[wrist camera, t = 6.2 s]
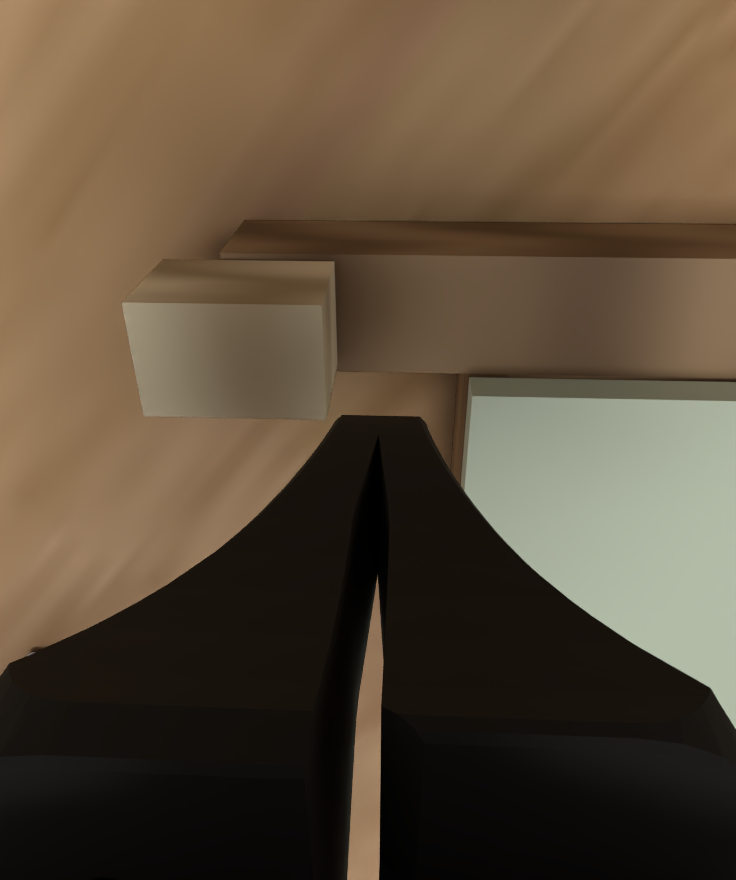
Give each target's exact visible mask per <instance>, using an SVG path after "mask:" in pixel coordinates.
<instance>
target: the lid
mask: <svg viewBox="0 0 736 880" xmlns="http://www.w3.org/2000/svg"><path fill="white" fill-rule="evenodd" d="M461 487H462V489H463V490H464V492H465V493H466V494H467V496H468V497H469V498H470V500H471V501H472V502H473V504H474V505H475V506H476V508H477V509H478V510H479V511H480V513H481V514H482V515H483V516H484V518H485V519H486V520H487V521H488V523H489V524H490V525H491V526H492V527H493V528H494V529H495V531H496V532H497V533H498V534H499V535H500V536H501V537H502V538H503V540H504V541H505V542H506V543H507V544H508V545H509V546H510V547H511V548H512V549H513V550H514V551H515V552H516V553H517V554H518V555H519V556H520V557H521V558H522V559H523V560H524V561H525V562H526V563H527V564H528V565H529V566H530V567H531V568H532V569H534V570H535V571H536V572H537V573H538V574H539V575H540V576H542V577H543V578H544V579H545V580H547V581H548V582H549V583H550V584H551V585H553V586H554V587H555V588H556V589H558V590H559V591H560V592H561V593H562V594H564V595H565V596H566V597H567V598H569V599H570V600H571V601H572V602H574V603H575V604H576V605H578V606H579V607H580V608H582V609H583V610H585V611H586V612H587V613H589V614H590V615H591V616H593V617H594V618H596V619H597V620H599V621H600V622H602V623H603V624H605V625H606V626H608V627H609V628H611V629H612V630H614V631H615V632H616V633H618V634H619V635H621V636H622V637H624V638H625V639H627V640H628V641H630V642H632V643H633V644H635V645H636V646H638V647H640V648H641V649H643V650H645V651H647V652H648V653H650V654H652V655H654V656H656V657H657V658H659V659H661V660H663V661H664V662H666V663H668V664H670V665H671V666H673V667H675V668H677V669H678V670H680V671H682V672H684V673H685V674H687V675H689V676H691V677H692V678H694V679H696V680H698V681H699V682H701V683H703V684H705V685H706V686H708V687H710V688H711V689H712V691H713V693H714V694H715V696H716V698H717V700H718V701H719V703H720V705H721V706H722V708H723V709H724V711H725V713H726V714H727V716H728V717H729V719H730V721H731V722H732V724H733V725H734V727H735V729H736V382H699V381H645V380H591V379H536V378H482V377H469V386H468V399H467V411H466V424H465V436H464V449H463V461H462V474H461Z"/></svg>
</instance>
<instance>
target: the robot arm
mask: <svg viewBox="0 0 736 880" xmlns="http://www.w3.org/2000/svg"><path fill="white" fill-rule="evenodd" d="M377 575H378V584H379V599H380V614H381V629H382V644H383V659H384V666H383V686H382V704H381V794H380V869H379V880H736V729H735V727H734V725H733V724H732V722H731V721H730V719H729V717H728V716H727V714H726V713H725V711H724V709H723V708H722V706H721V705H720V703H719V701H718V700H717V698H716V696H715V694H714V693H713V691H712V689H711V688H710V687H708V686H706V685H705V684H703V683H701V682H699V681H698V680H696V679H694V678H692V677H691V676H689V675H687V674H685V673H684V672H682V671H680V670H678V669H677V668H675V667H673V666H671V665H670V664H668V663H666V662H664V661H663V660H661V659H659V658H657V657H656V656H654V655H652V654H650V653H648V652H647V651H645V650H643V649H641V648H640V647H638V646H636V645H635V644H633V643H632V642H630V641H628V640H627V639H625V638H624V637H622V636H621V635H619V634H618V633H616V632H615V631H614V630H612V629H611V628H609V627H608V626H606V625H605V624H603V623H602V622H600V621H599V620H597V619H596V618H594V617H593V616H591V615H590V614H589V613H587V612H586V611H585V610H583V609H582V608H580V607H579V606H578V605H576V604H575V603H574V602H572V601H571V600H570V599H569V598H567V597H566V596H565V595H564V594H562V593H561V592H560V591H559V590H558V589H556V588H555V587H554V586H553V585H551V584H550V583H549V582H548V581H547V580H545V579H544V578H543V577H542V576H540V575H539V574H538V573H537V572H536V571H535V570H534V569H532V568H531V567H530V566H529V565H528V564H527V563H526V562H525V561H524V560H523V559H522V558H521V557H520V556H519V555H518V554H517V553H516V552H515V551H514V550H513V549H512V548H511V547H510V546H509V545H508V544H507V543H506V542H505V541H504V540H503V538H502V537H501V536H500V535H499V534H498V533H497V532H496V531H495V529H494V528H493V527H492V526H491V525H490V524H489V523H488V521H487V520H486V519H485V518H484V516H483V515H482V514H481V513H480V511H479V510H478V509H477V508H476V506H475V505H474V504H473V502H472V501H471V500H470V498H469V497H468V496H467V494H466V493H465V492H464V490H463V489H462V487H461V486H460V484H459V483H458V481H457V480H456V478H455V477H454V475H453V474H452V472H451V471H450V469H449V468H448V466H447V464H446V463H445V461H444V459H443V458H442V456H441V454H440V452H439V450H438V449H437V447H436V445H435V443H434V441H433V439H432V437H431V435H430V432H429V430H428V427H427V424H426V423H425V422H424V421H423V420H422V419H421V418H420V417H412V416H362V415H342V416H341V417H340V418H338V419H337V420H336V421H335V422H334V424H333V426H332V427H331V429H330V430H329V432H328V433H327V435H326V436H325V438H324V439H323V441H322V442H321V443H320V445H319V446H318V447H317V449H316V450H315V451H314V453H313V454H312V455H311V457H310V458H309V459H308V460H307V462H306V463H305V464H304V465H303V466H302V468H301V469H300V470H299V471H298V472H297V474H296V475H295V476H294V477H293V478H292V480H291V481H290V482H289V483H288V484H287V485H286V486H285V487H284V489H283V490H282V491H281V492H280V493H279V494H278V495H277V496H276V497H275V498H274V499H273V500H272V501H271V502H270V503H269V504H268V505H267V506H266V507H265V508H264V509H263V510H262V511H261V512H260V513H259V514H258V515H257V516H256V517H255V518H254V519H253V520H252V521H251V522H250V523H249V524H248V525H247V526H245V527H244V528H243V529H242V530H241V531H240V532H239V533H237V534H236V535H235V536H234V537H233V538H231V539H230V540H229V541H228V542H227V543H225V544H224V545H223V546H222V547H221V548H219V549H218V550H217V551H216V552H214V553H213V554H211V555H210V556H208V557H207V558H206V559H204V560H203V561H201V562H200V563H198V564H197V565H195V566H194V567H192V568H191V569H190V570H188V571H187V572H185V573H184V574H182V575H181V576H179V577H178V578H176V579H175V580H174V581H172V582H171V583H169V584H167V585H166V586H164V587H163V588H161V589H159V590H158V591H156V592H154V593H152V594H151V595H149V596H147V597H146V598H144V599H142V600H141V601H139V602H137V603H135V604H133V605H132V606H130V607H128V608H126V609H124V610H122V611H121V612H119V613H117V614H115V615H113V616H111V617H110V618H108V619H106V620H104V621H102V622H100V623H98V624H96V625H94V626H92V627H90V628H88V629H86V630H83V631H81V632H79V633H77V634H75V635H72V636H70V637H68V638H66V639H64V640H61V641H59V642H57V643H55V644H53V645H50V646H48V647H46V648H44V649H42V650H39V651H37V652H31V653H29V654H28V655H27V656H26V657H24V658H21V659H19V660H17V661H14V662H12V663H10V664H9V665H8V666H7V668H6V669H5V670H4V672H3V673H2V675H1V676H0V880H347V870H348V851H349V833H350V815H351V797H352V779H353V762H354V745H355V728H356V716H357V707H358V698H359V690H360V684H361V677H362V671H363V665H364V658H365V652H366V646H367V639H368V633H369V627H370V620H371V614H372V607H373V601H374V594H375V588H376V581H377Z"/></svg>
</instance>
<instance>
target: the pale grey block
mask: <svg viewBox="0 0 736 880" xmlns="http://www.w3.org/2000/svg"><path fill="white" fill-rule="evenodd" d="M121 303H122V308H123V313H124V318H125V323H126V329H127V334H128V339H129V344H130V349H131V354H132V359H133V364H134V369H135V375H136V380H137V385H138V390H139V395H140V400H141V405H142V410H143V415H144V416H157V417H205V418H252V419H299V420H327V415H328V410H329V404H330V399H331V394H332V389H333V384H334V379H335V374H336V369H337V331H336V296H335V261H258V260H171V259H163V260H162V261H161V262H160V263H159V264H158V265H157V266H156V267H155V268H154V269H153V270H152V271H151V272H150V273H149V274H148V275H147V276H146V278H145V279H144V280H143V281H142V282H141V283H140V284H139V285H138V286H137V287H136V288H135V289H134V290H133V291H132V292H131V293H130V294H129V295H128V296H127V297H126V298H125V299H124V300H123V301H122V302H121Z"/></svg>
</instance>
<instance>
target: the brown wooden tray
mask: <svg viewBox="0 0 736 880" xmlns="http://www.w3.org/2000/svg"><path fill="white" fill-rule="evenodd" d="M220 260H258V261H335V296H336V331H337V369H336V371H347V372H402V373H457V374H458V377H457V391H456V405H455V419H454V434H453V448H452V462H451V472H452V474H453V475H454V477H455V478H456V480H457V481H458V483H459V484H460V486H461V474H462V461H463V449H464V436H465V424H466V411H467V399H468V386H469V377H482V378H536V379H591V380H645V381H699V382H736V225H734V224H624V223H515V222H405V221H295V220H244V222H243V223H242V224H241V226H240V227H239V228H238V230H237V231H236V232H235V233H234V235H233V236H232V237H231V239H230V240H229V241H228V243H227V244H226V245H225V247H224V248H223V249H222V251H221V252H220Z"/></svg>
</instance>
